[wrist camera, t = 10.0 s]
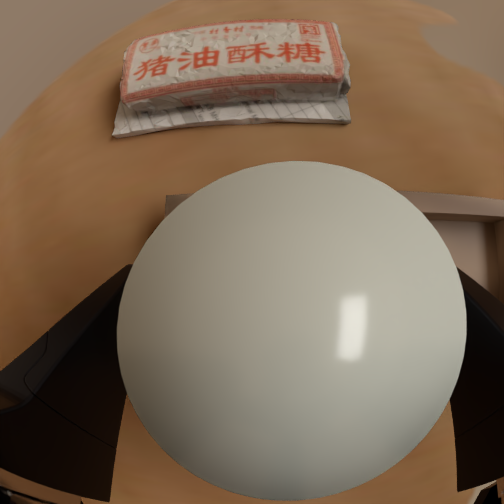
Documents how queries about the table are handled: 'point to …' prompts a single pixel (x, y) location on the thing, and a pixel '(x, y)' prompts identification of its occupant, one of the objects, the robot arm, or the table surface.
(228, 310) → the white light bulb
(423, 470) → the table surface
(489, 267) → the divided tray
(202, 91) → the packaged product
